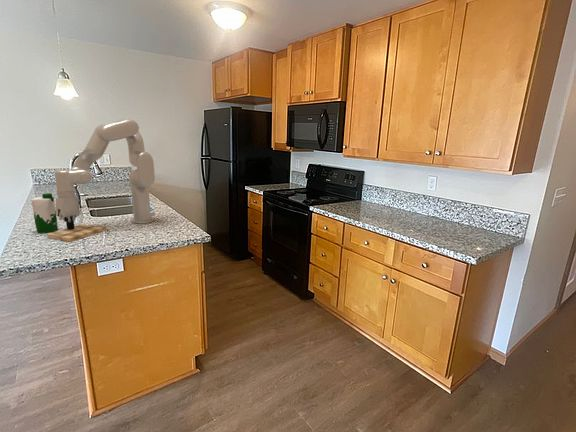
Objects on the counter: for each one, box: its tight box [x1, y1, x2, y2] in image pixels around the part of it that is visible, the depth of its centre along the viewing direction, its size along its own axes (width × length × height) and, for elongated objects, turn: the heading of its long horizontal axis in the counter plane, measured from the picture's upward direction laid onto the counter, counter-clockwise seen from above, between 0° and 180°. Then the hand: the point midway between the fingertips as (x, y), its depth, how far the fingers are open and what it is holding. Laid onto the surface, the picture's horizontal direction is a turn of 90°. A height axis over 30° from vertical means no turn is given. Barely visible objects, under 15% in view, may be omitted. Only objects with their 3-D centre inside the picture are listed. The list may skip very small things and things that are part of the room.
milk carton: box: [31, 192, 58, 234], centre depth 167 cm, size 9×9×20 cm
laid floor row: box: [59, 225, 107, 243], centre depth 164 cm, size 22×6×2 cm, turn 165°
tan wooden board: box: [46, 223, 94, 241], centre depth 166 cm, size 20×9×2 cm, turn 165°
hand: (70, 228), depth 167 cm, fingers closed
